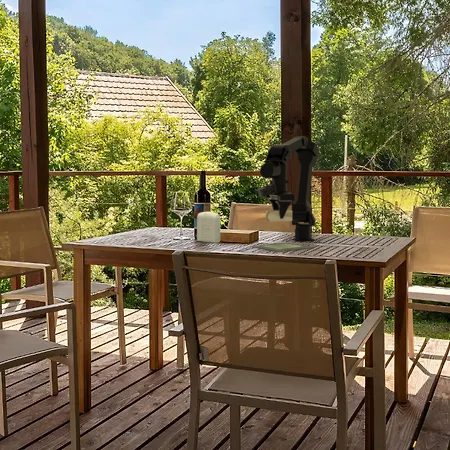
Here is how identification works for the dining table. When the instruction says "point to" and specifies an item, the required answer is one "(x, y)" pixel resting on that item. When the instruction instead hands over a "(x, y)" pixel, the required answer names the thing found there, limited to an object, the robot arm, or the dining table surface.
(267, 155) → the robot arm
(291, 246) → the rubber mat
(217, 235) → the soap bar
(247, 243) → the dining table surface
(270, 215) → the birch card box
